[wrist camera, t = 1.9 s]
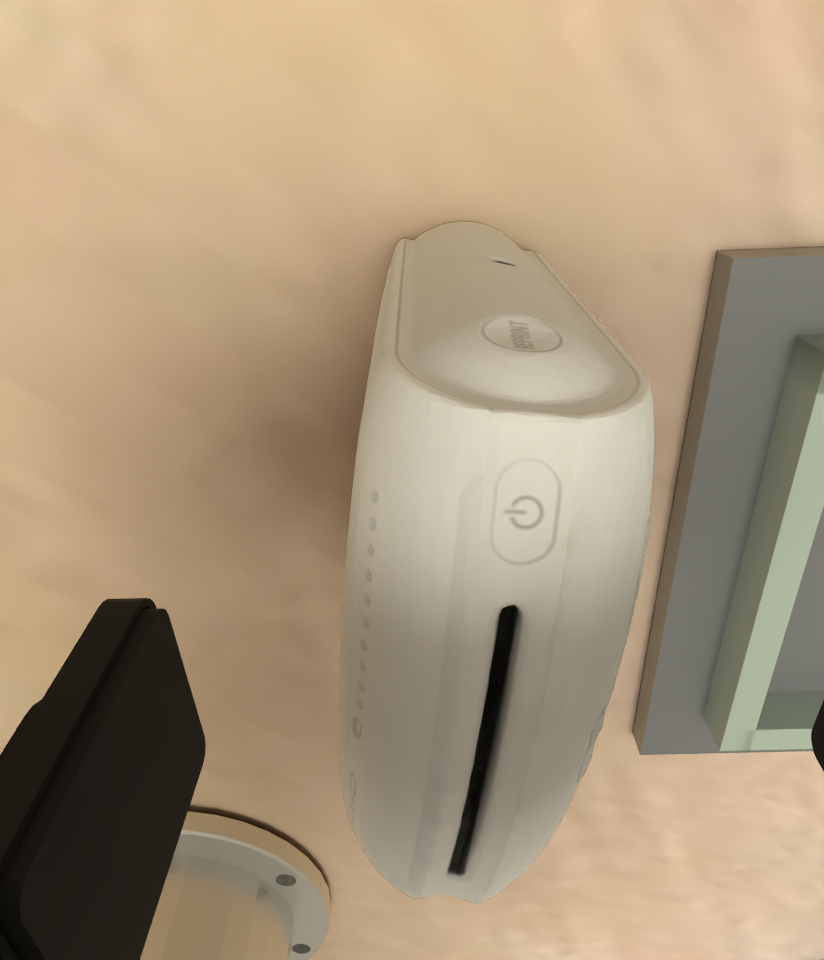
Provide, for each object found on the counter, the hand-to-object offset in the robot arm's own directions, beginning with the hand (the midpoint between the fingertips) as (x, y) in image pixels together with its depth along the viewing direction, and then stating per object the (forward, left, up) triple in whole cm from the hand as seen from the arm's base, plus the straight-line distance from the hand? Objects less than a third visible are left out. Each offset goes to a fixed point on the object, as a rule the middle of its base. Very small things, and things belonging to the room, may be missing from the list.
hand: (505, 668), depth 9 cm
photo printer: (-1, 0, -11) cm, 11 cm away
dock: (-6, -13, -11) cm, 18 cm away
